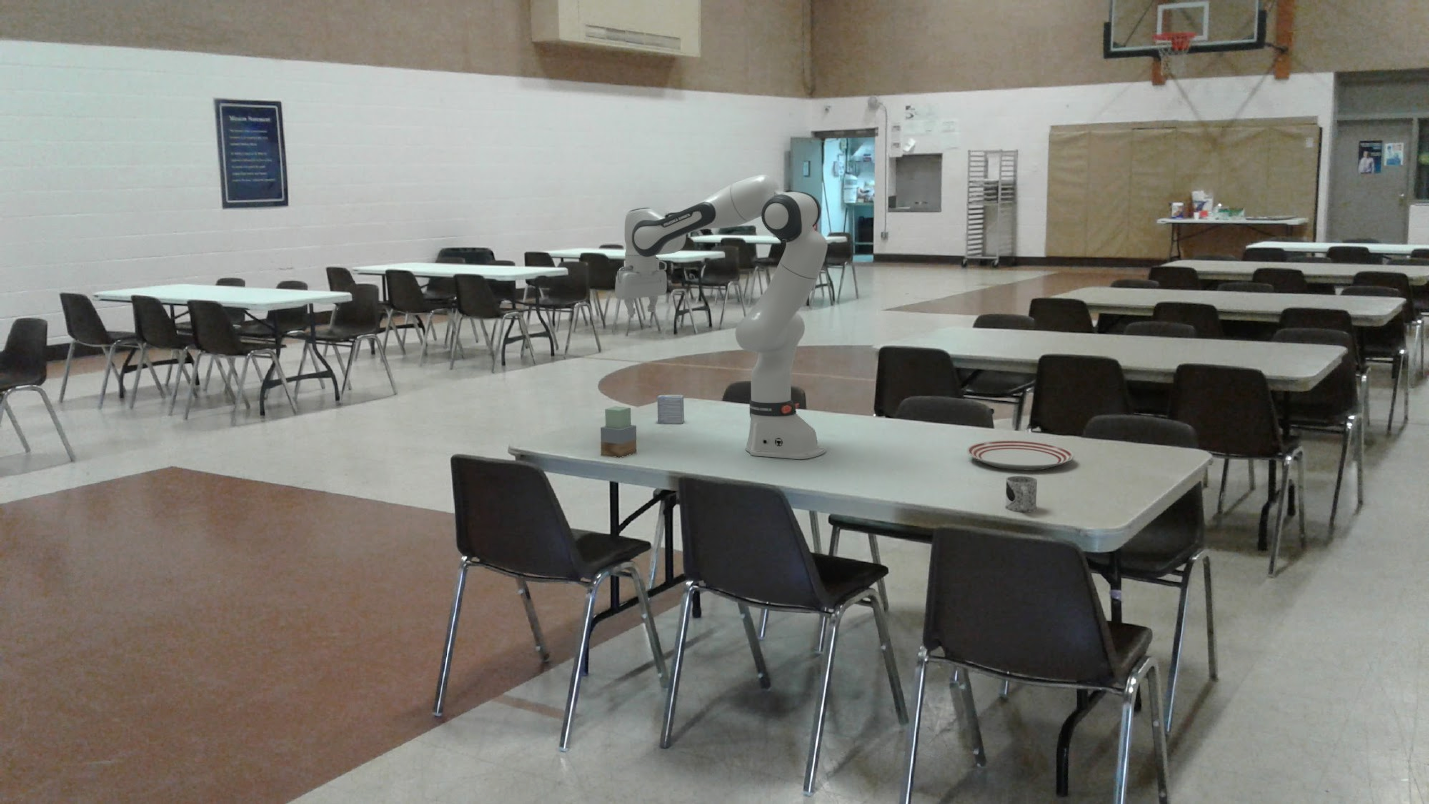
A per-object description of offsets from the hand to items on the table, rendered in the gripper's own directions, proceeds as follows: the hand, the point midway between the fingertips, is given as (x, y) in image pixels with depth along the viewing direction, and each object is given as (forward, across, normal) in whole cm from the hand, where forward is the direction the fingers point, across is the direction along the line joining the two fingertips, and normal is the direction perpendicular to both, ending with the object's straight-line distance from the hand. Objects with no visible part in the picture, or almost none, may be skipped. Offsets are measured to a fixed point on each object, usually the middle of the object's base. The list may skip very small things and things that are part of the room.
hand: (641, 313), depth 336 cm
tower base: (+37, -20, -6) cm, 43 cm away
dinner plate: (+37, +27, -104) cm, 114 cm away
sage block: (+29, -20, -6) cm, 36 cm away
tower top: (+33, -20, -7) cm, 39 cm away
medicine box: (+37, +24, +8) cm, 45 cm away
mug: (+37, -19, -121) cm, 128 cm away
